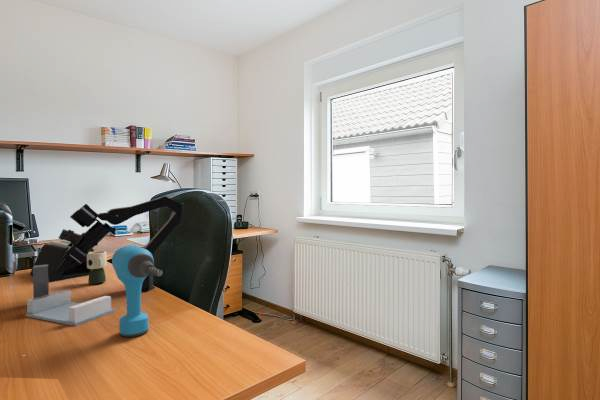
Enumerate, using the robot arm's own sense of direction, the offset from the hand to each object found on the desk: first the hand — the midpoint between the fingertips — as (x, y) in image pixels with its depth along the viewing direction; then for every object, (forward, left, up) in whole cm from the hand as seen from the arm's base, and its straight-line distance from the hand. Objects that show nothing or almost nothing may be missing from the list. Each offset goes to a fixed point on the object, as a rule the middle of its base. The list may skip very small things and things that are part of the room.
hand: (56, 269), depth 122 cm
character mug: (+2, -24, -11) cm, 27 cm away
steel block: (+4, +3, -11) cm, 12 cm away
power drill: (-44, +28, -11) cm, 54 cm away
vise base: (-13, +11, -11) cm, 21 cm away
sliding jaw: (-4, +8, -10) cm, 14 cm away
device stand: (+27, -40, -12) cm, 50 cm away
